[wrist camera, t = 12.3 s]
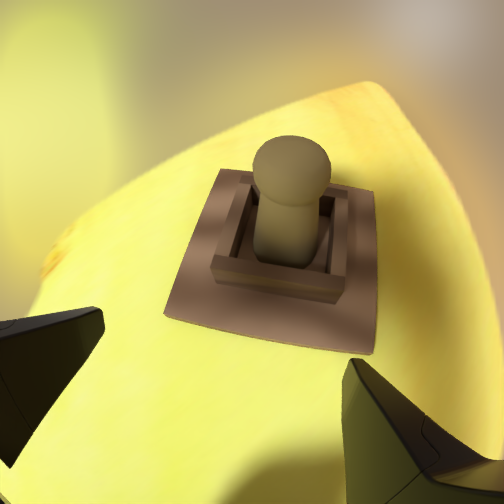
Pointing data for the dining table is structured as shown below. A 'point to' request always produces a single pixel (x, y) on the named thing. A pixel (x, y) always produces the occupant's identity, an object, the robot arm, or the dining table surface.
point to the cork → (289, 200)
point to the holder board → (281, 272)
